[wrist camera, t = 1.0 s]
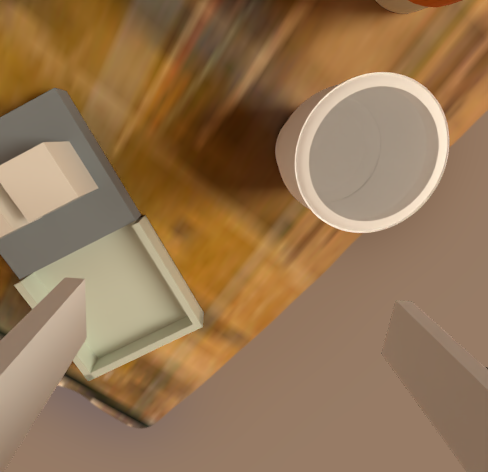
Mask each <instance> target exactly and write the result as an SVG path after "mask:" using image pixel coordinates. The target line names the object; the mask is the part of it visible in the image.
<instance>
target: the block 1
mask: <svg viewBox="0 0 488 472" xmlns="http://www.w3.org/2000/svg"><path fill="white" fill-rule="evenodd" d="M40 218H42V217H40ZM40 218H38V219H40ZM38 219H36V220H38ZM36 220H34V221H36ZM34 221H31V222H28V221H27V220H26V218H25V217H24V215H23V214H22V213H21V211H20V210H19V208H18V207H17V206H16V204H15V203H14V201H13V200H12V199H11V197H10V196H9V194H8V193H7V192H6V190H5V189H4V188H3V186H2V185H1V183H0V239H1V238H3V237H5V236H7V235H9V234H11V233H13V232H15V231H17V230H19V229H21V228H23V227H25V226H26V225H28V224H30V223H32V222H34Z"/></svg>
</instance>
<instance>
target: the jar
mask: <svg viewBox="0 0 488 472" xmlns="http://www.w3.org/2000/svg"><path fill="white" fill-rule="evenodd" d="M448 153H449V130H448V125H447V121H446V117H445V115H444V112H443V110H442V108H441V106H440V104H439V102H438V101H437V99H436V98H435V97H434V96H433V94H432V93H431V92H430V91H429V90H428V89H427V88H426V87H424V86H423V85H422V84H420V83H419V82H417V81H415V80H414V79H412V78H409V77H407V76H404V75H401V74H396V73H390V72H376V73H369V74H364V75H360V76H356V77H354V78H351V79H349V80H346V81H344V82H342V83H341V84H339V85H335V86H332V87H329V88H326V89H324V90H322V91H320V92H318V93H316V94H314V95H313V96H311V97H310V98H308V99H307V100H306V101H304V102H303V103H302V104H301V105H300V106H299V107H298V108H297V109H296V110H295V111H294V112H293V113H292V115H291V116H290V118H289V119H288V121H287V122H286V123H285V124H284V126H283V127H282V129H281V131H280V133H279V135H278V138H277V141H276V147H275V156H276V161H277V165H278V167H279V171H280V174H281V177H282V180H283V182H284V184H285V185H286V187H287V189H288V190H289V192H290V193H291V194H292V195H293V196H294V197H295V198H296V199H297V200H298V201H299V202H300V203H301V204H302V205H304V206H305V207H307V208H308V209H310V210H311V211H312V212H313V213H314V214H315V215H316V216H317V217H318V218H320V219H321V220H322V221H324V222H325V223H327V224H329V225H330V226H332V227H335V228H337V229H340V230H343V231H348V232H354V233H368V232H376V231H380V230H384V229H387V228H389V227H392V226H394V225H397V224H399V223H400V222H402V221H404V220H405V219H407V218H408V217H410V216H411V215H412V214H414V213H415V212H416V211H417V210H418V209H419V208H420V207H422V206H423V204H424V203H425V202H426V201H427V200H428V199H429V198H430V196H431V195H432V193H433V192H434V190H435V189H436V187H437V185H438V184H439V182H440V180H441V177H442V175H443V172H444V170H445V167H446V163H447V159H448Z"/></svg>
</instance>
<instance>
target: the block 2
mask: <svg viewBox="0 0 488 472" xmlns="http://www.w3.org/2000/svg"><path fill="white" fill-rule="evenodd" d="M0 183H1V185H2V186H3V188H4V189H5V190H6V192H7V193H8V194H9V196H10V197H11V199H12V200H13V201H14V203H15V204H16V206H17V207H18V208H19V210H20V211H21V213H22V214H23V215H24V217H25V218H26V220H27V221H28V222H31V221H34V220H36V219H38V218H40V217H42V216H45V215H47V214H49V213H51V212H53V211H55V210H57V209H59V208H61V207H63V206H65V205H67V204H69V203H71V202H73V201H75V200H77V199H79V198H81V197H83V196H84V195H86V194H88V193H90V192H92V191H94V190H96V189H98V186H97V185H96V183H95V181H94V180H93V178H92V177H91V175H90V173H89V172H88V170H87V169H86V167H85V166H84V164H83V162H82V161H81V159H80V158H79V156H78V154H77V153H76V151H75V150H74V148H73V146H72V145H71V143H70V142H69V141H63V142H43V143H41V144H39V145H37V146H35V147H33V148H32V149H30V150H28V151H26V152H24V153H22V154H20V155H18V156H17V157H15V158H13V159H11V160H9V161H7V162H5V163H3V164H2V165H0Z"/></svg>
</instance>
